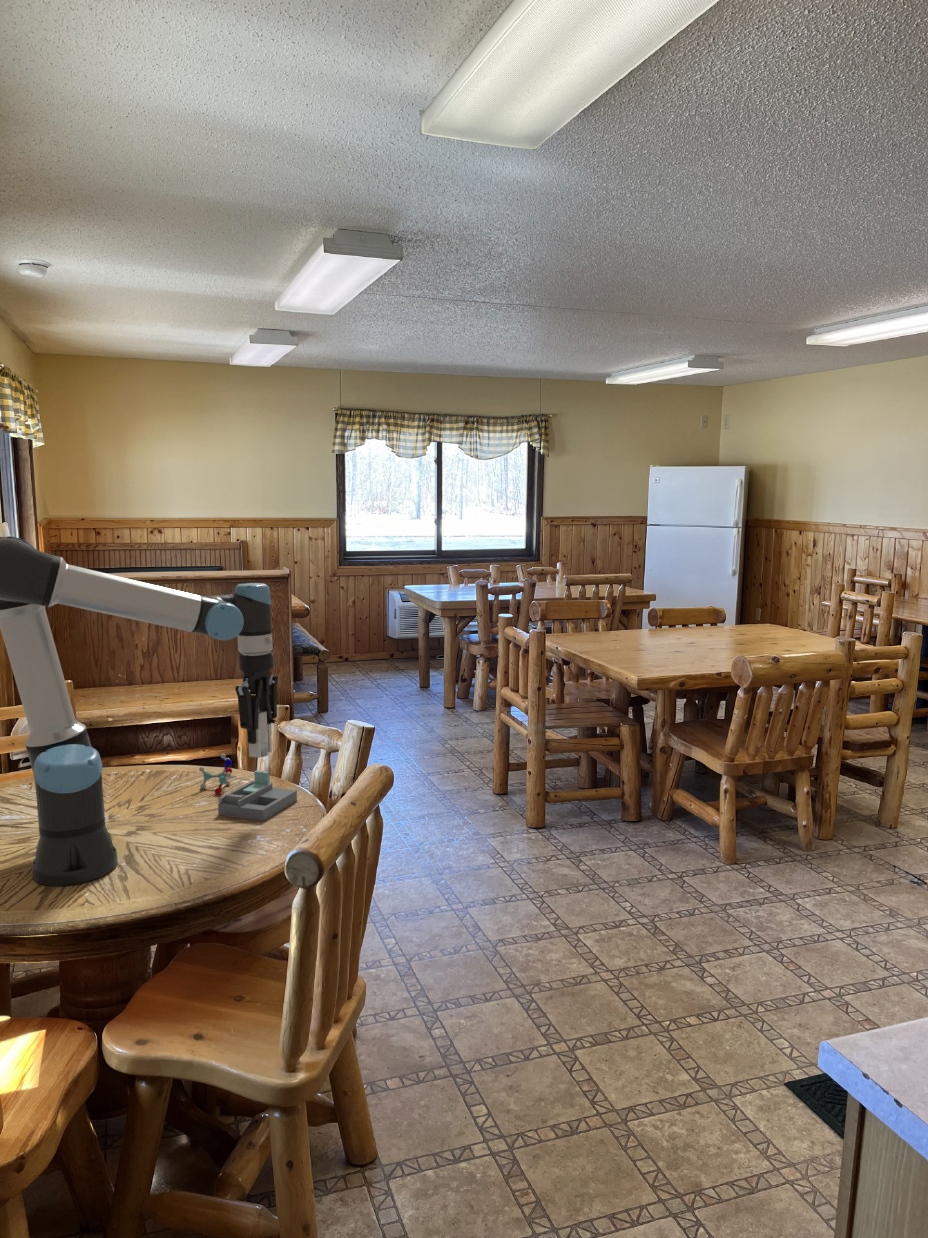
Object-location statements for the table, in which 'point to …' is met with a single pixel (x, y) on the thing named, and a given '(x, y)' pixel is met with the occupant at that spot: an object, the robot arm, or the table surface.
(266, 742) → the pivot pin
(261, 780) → the lid
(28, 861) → the table surface
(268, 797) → the housing
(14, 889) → the table surface
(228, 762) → the molecular model
